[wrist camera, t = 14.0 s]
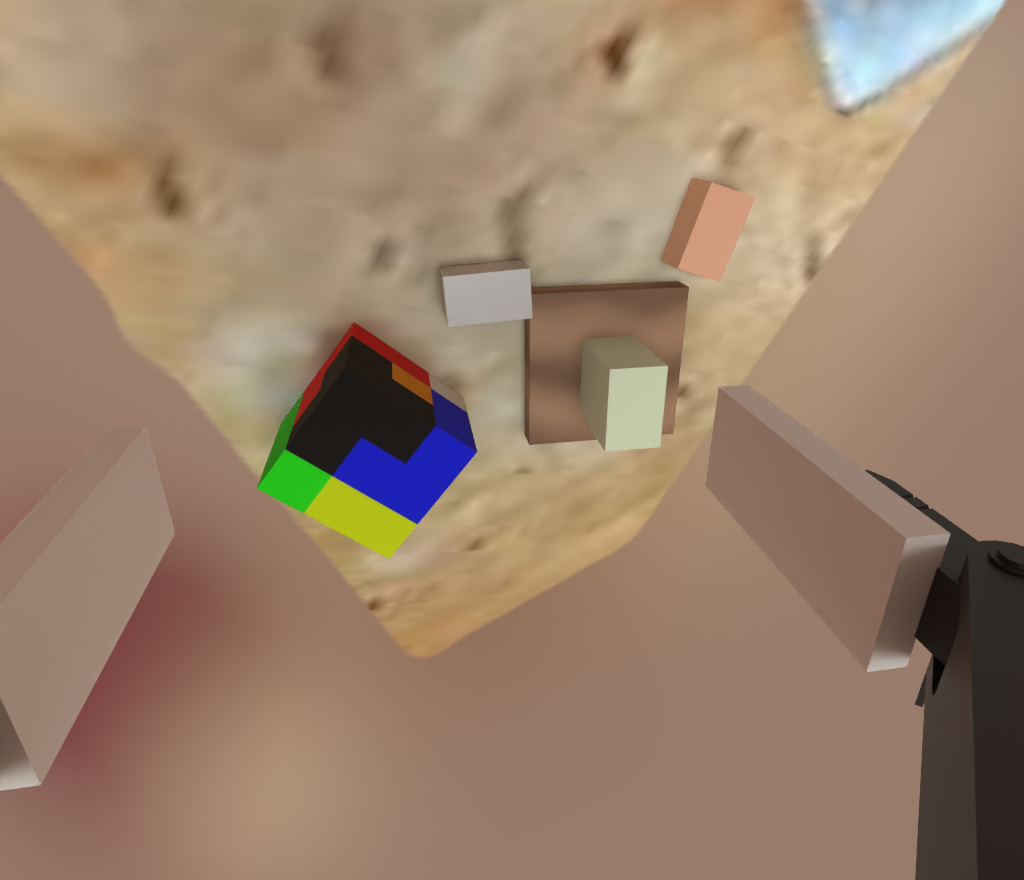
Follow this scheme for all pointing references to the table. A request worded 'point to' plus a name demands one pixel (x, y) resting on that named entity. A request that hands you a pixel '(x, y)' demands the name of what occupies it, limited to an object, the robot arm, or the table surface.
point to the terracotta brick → (707, 229)
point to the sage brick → (622, 392)
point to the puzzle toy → (369, 444)
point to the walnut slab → (594, 315)
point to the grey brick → (486, 292)
